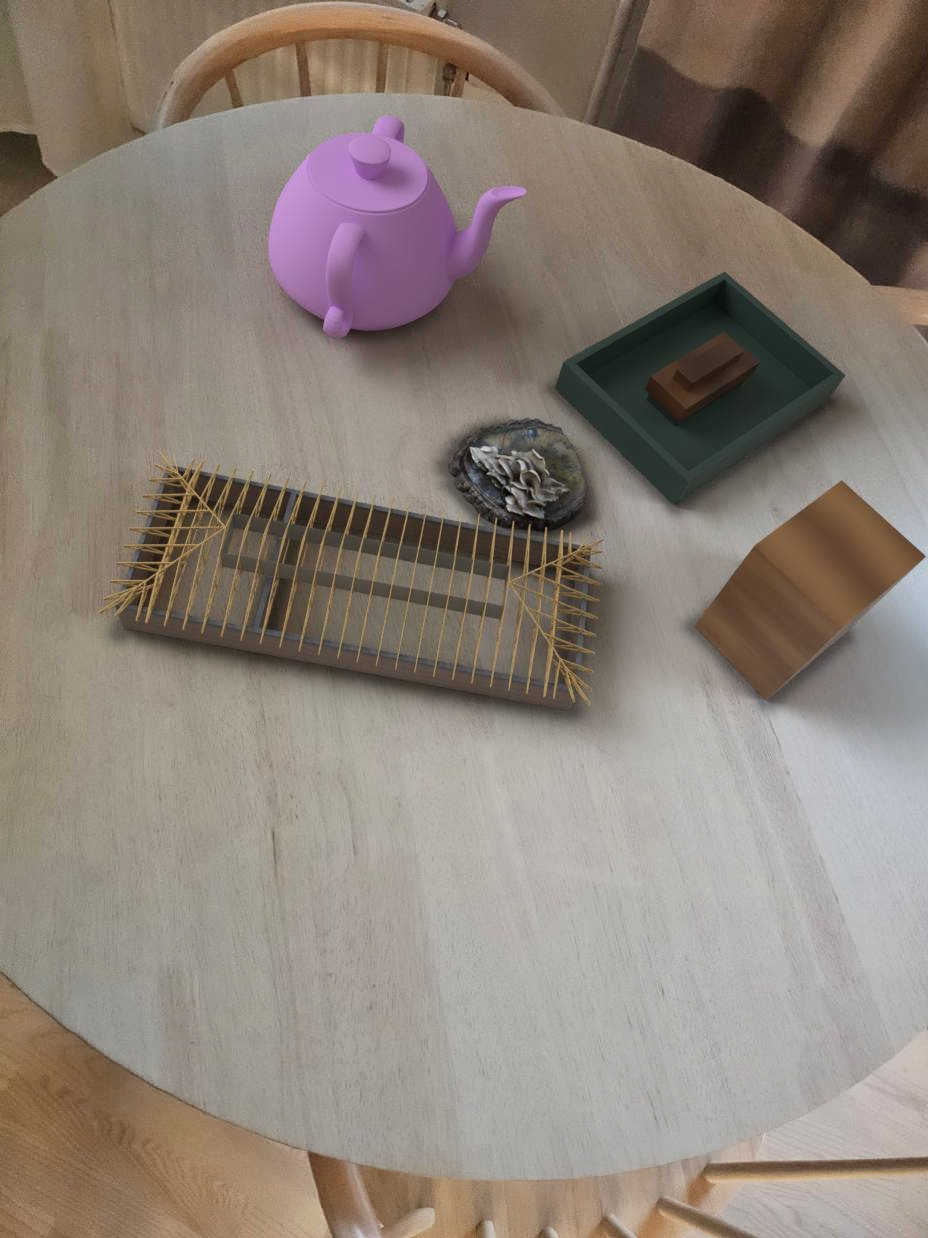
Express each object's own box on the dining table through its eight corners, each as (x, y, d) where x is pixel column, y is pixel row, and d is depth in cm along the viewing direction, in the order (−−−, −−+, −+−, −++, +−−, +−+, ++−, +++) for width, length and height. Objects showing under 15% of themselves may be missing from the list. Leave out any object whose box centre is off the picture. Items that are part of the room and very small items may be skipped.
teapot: (479, 399, 84) (506, 276, 72) (238, 342, 83) (225, 208, 71) (516, 236, 95) (546, 106, 83) (304, 185, 94) (302, 46, 82)
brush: (712, 354, 90) (729, 321, 86) (746, 385, 89) (765, 352, 85) (640, 398, 86) (654, 365, 82) (674, 431, 85) (691, 399, 81)
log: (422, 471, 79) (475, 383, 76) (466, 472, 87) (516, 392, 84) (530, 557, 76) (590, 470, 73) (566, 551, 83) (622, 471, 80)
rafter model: (107, 636, 68) (89, 594, 63) (165, 479, 76) (153, 429, 70) (578, 723, 70) (600, 689, 65) (592, 562, 77) (613, 519, 72)
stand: (773, 565, 80) (841, 479, 69) (844, 634, 77) (926, 556, 67) (693, 626, 76) (754, 545, 65) (766, 700, 73) (841, 629, 63)
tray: (711, 298, 94) (724, 270, 91) (828, 400, 90) (845, 374, 87) (554, 388, 86) (563, 361, 83) (674, 506, 81) (688, 481, 78)
